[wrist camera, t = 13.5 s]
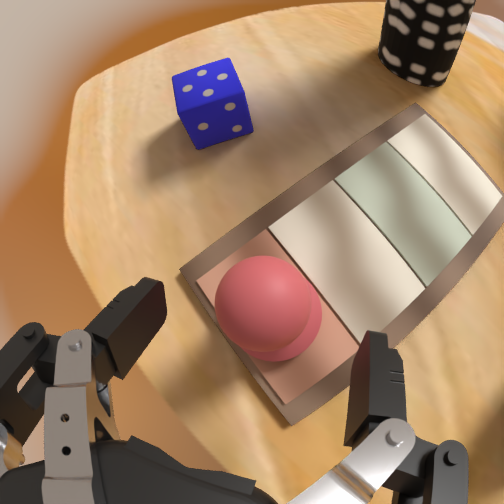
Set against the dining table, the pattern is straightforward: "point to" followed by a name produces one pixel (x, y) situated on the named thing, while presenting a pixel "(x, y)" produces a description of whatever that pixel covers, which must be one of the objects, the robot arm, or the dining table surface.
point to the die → (212, 103)
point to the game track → (363, 248)
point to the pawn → (268, 308)
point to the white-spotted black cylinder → (423, 38)
